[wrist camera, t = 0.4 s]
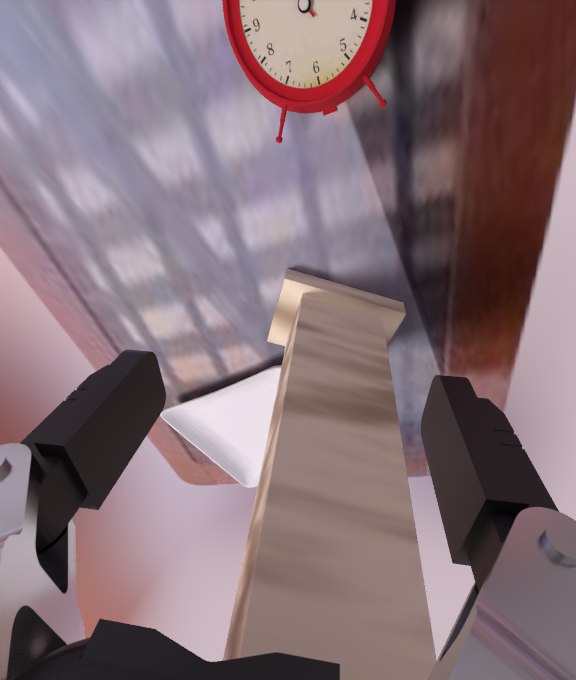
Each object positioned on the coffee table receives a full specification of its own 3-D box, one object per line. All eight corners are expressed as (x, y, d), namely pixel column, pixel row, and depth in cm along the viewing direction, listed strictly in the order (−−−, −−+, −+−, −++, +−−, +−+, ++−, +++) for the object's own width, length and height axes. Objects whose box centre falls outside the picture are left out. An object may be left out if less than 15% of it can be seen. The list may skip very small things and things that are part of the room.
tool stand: (279, 256, 32) (98, 817, 8) (417, 296, 33) (615, 907, 9) (259, 334, 38) (125, 775, 15) (375, 366, 39) (426, 830, 15)
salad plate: (287, 346, 39) (283, 366, 37) (363, 444, 50) (365, 465, 47) (164, 396, 48) (154, 415, 46) (251, 470, 59) (246, 489, 56)
